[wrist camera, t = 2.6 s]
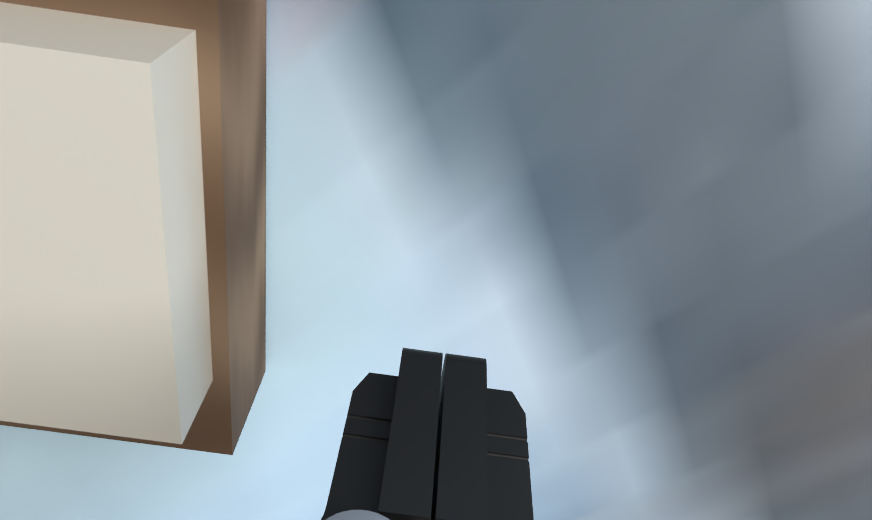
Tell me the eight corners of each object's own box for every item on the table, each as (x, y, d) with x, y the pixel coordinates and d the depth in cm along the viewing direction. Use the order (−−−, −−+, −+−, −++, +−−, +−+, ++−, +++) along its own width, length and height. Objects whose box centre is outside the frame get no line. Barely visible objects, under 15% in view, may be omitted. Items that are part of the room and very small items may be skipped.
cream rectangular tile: (-133, -17, 15) (-233, 8, 13) (195, 30, 15) (150, 63, 13) (-32, 347, 20) (-91, 409, 18) (212, 380, 21) (182, 444, 18)
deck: (-237, -210, 17) (-418, -217, 14) (266, -134, 17) (213, -124, 14) (-72, 325, 25) (-157, 404, 22) (265, 370, 26) (232, 454, 22)
